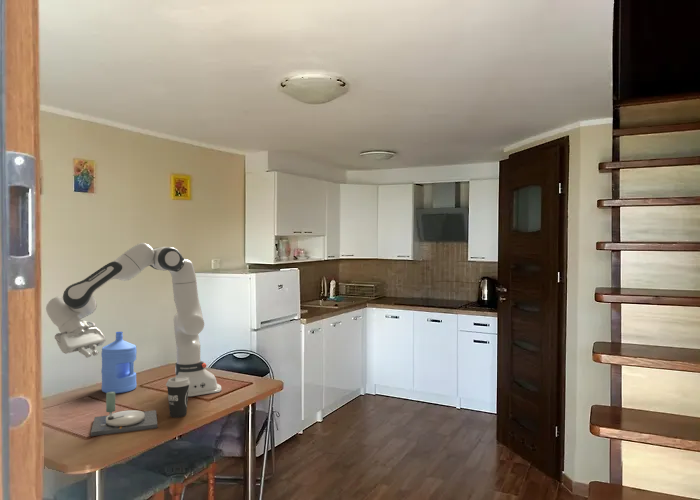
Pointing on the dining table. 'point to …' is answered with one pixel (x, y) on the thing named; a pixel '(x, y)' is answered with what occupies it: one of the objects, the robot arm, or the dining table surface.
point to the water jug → (118, 366)
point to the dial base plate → (103, 428)
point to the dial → (121, 413)
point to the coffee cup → (178, 396)
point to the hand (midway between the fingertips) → (92, 355)
